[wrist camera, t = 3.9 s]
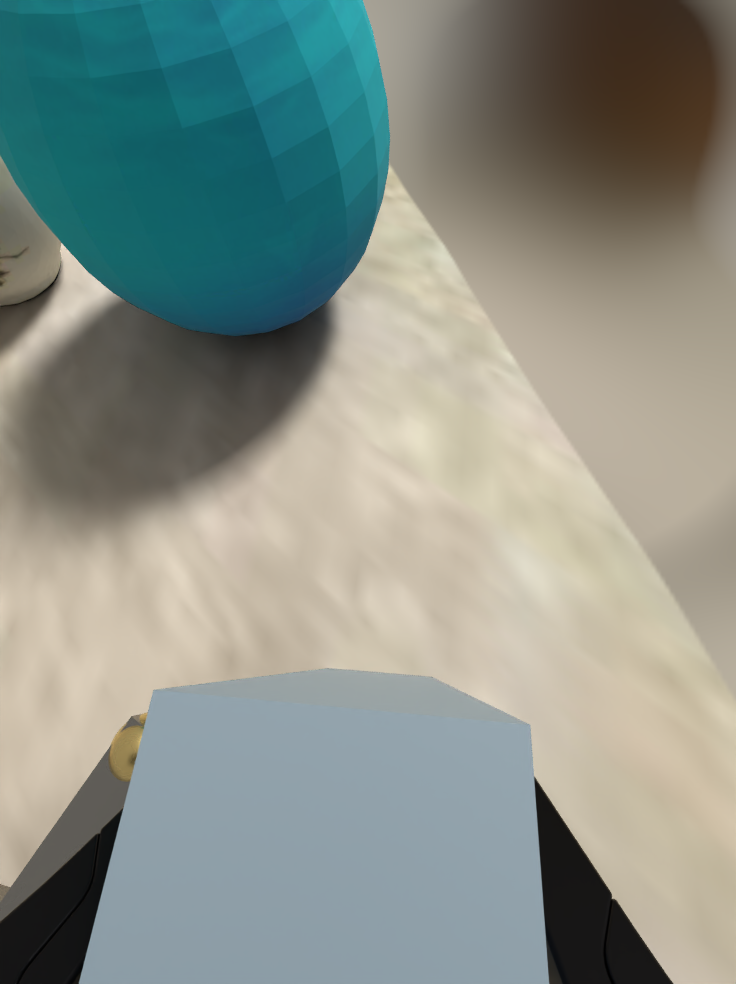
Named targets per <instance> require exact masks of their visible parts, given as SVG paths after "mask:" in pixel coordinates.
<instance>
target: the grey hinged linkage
mask: <svg viewBox="0 0 736 984" xmlns="http://www.w3.org/2000/svg"><path fill="white" fill-rule="evenodd" d="M147 714H148V713H144V714H140V715H136V716H131V718H130V719H129V721H128V722H127V723H126V724H125V725H124V726H123V727H121V729H120V730H119V731H118V732H117V734H116V735H115V737H114V739H113V740H112V743H111V745H110V747H109V749H108V750H107V752H106V753H105V755H104V756H103V757H102V759H101V760H100V762H99V763H98V764H97V766H96V767H95V769H94V770H93V772H92V773H91V774H90V776H89V777H88V779H87V780H86V781H85V783H84V784H83V786H82V787H81V789H80V790H79V791H78V793H77V794H76V796H75V797H74V799H73V800H72V801H71V803H70V804H69V806H68V807H67V808H66V810H65V811H64V813H63V814H62V816H61V817H60V818H59V820H58V821H57V823H56V824H55V825H54V827H53V828H52V830H51V831H50V833H49V834H48V835H47V837H46V838H45V840H44V841H43V842H42V844H41V845H40V847H39V848H38V850H37V851H36V852H35V854H34V855H33V857H32V858H31V859H30V861H29V862H28V864H27V865H26V867H25V868H24V869H23V871H22V872H21V874H20V875H19V876H18V878H17V879H16V881H15V882H14V884H13V885H12V886H11V888H10V887H7V886H4V885H1V884H0V921H1V920H2V919H3V918H5V917H6V916H7V915H8V914H9V913H10V912H11V911H13V910H14V909H15V908H16V907H17V906H18V905H19V904H21V903H22V902H23V901H24V900H25V899H26V898H27V897H28V896H30V895H31V894H32V893H33V892H34V891H35V890H36V889H38V888H39V887H40V886H41V885H42V884H43V883H44V882H45V881H46V880H48V879H49V878H50V877H51V876H52V875H53V874H54V873H55V872H56V871H57V870H58V869H59V868H60V867H61V866H62V865H64V864H65V863H66V862H67V861H68V860H69V859H70V858H71V857H72V856H73V855H74V854H75V853H76V852H77V851H78V850H79V849H81V848H82V847H83V846H84V845H85V844H86V843H87V842H88V841H89V840H90V839H91V838H92V837H93V836H94V835H95V834H96V833H99V834H100V830H101V828H102V827H103V826H104V825H106V824H107V823H108V822H109V821H110V820H111V819H112V818H113V817H114V816H115V815H116V814H117V813H118V812H119V811H120V810H121V809H122V808H123V807H124V804H125V800H126V796H127V792H128V789H129V785H130V781H131V777H132V773H133V769H134V765H135V761H136V757H137V753H138V749H139V745H140V741H141V738H142V734H143V730H144V726H145V722H146V718H147Z"/></svg>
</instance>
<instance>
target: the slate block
mask: <svg viewBox="0 0 736 984" xmlns="http://www.w3.org/2000/svg"><path fill="white" fill-rule="evenodd" d="M79 984H549V975H548V962H547V948H546V934H545V921H544V907H543V893H542V880H541V866H540V852H539V839H538V825H537V811H536V798H535V784H534V770H533V757H532V743H531V729H530V725H529V724H527V723H525V722H523V721H521V720H519V719H517V718H515V717H513V716H511V715H509V714H507V713H505V712H503V711H501V710H499V709H496V708H494V707H492V706H490V705H488V704H486V703H484V702H482V701H480V700H478V699H476V698H474V697H472V696H470V695H468V694H466V693H464V692H462V691H460V690H457V689H455V688H453V687H451V686H449V685H447V684H445V683H443V682H441V681H439V680H437V679H435V678H433V677H425V676H413V675H401V674H389V673H377V672H366V671H354V670H342V669H330V668H327V669H319V670H311V671H303V672H294V673H286V674H278V675H270V676H262V677H254V678H246V679H238V680H230V681H222V682H214V683H206V684H198V685H190V686H181V687H173V688H165V689H157V690H153V694H152V698H151V702H150V706H149V710H148V714H147V718H146V722H145V726H144V730H143V734H142V738H141V741H140V745H139V749H138V753H137V757H136V761H135V765H134V769H133V773H132V777H131V781H130V785H129V789H128V792H127V796H126V800H125V804H124V808H123V812H122V816H121V820H120V824H119V828H118V832H117V836H116V840H115V843H114V847H113V851H112V855H111V859H110V863H109V867H108V871H107V875H106V879H105V883H104V887H103V891H102V895H101V898H100V902H99V906H98V910H97V914H96V918H95V922H94V926H93V930H92V934H91V938H90V942H89V946H88V949H87V953H86V957H85V961H84V965H83V969H82V973H81V977H80V981H79Z"/></svg>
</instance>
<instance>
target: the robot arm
mask: <svg viewBox="0 0 736 984" xmlns="http://www.w3.org/2000/svg"><path fill="white" fill-rule="evenodd" d="M534 784H535V798H536V811H537V825H538V839H539V852H540V866H541V880H542V893H543V907H544V921H545V934H546V948H547V962H548V975H549V984H673V982H672V981H671V980H670V978H669V977H668V976H667V974H666V973H665V971H664V970H663V969H662V967H661V966H660V964H659V963H658V961H657V960H656V958H655V957H654V955H653V954H652V953H651V951H650V950H649V948H648V947H647V945H646V944H645V942H644V941H643V939H642V938H641V937H640V935H639V934H638V932H637V931H636V929H635V928H634V926H633V925H632V923H631V922H630V920H629V919H628V917H627V916H626V914H625V913H624V911H623V910H622V908H621V906H620V905H619V903H618V902H617V901H616V900H615V899H612V894H611V892H610V890H609V889H608V887H607V886H606V884H605V883H604V881H603V880H602V878H601V877H600V875H599V874H598V872H597V870H596V869H595V867H594V866H593V864H592V863H591V861H590V860H589V858H588V857H587V855H586V854H585V852H584V851H583V849H582V848H581V846H580V845H579V843H578V842H577V840H576V839H575V837H574V836H573V834H572V833H571V831H570V830H569V828H568V827H567V825H566V824H565V822H564V821H563V819H562V818H561V816H560V815H559V813H558V811H557V810H556V808H555V807H554V805H553V804H552V802H551V801H550V799H549V798H548V796H547V795H546V793H545V792H544V790H543V789H542V787H541V786H540V784H539V783H538V781H537V780H536V778H535V777H534ZM123 808H124V807H123ZM123 808H122V809H121V810H120V811H119V812H118V813H117V814H116V815H115V816H114V817H113V818H112V819H111V820H110V821H109V822H108V823H107V824H106V825H104V826H103V827H102V828H101V830H100V834H99V833H96V834H95V835H94V836H93V837H92V838H91V839H90V840H89V841H88V842H87V843H86V844H85V845H84V846H83V847H82V848H81V849H79V850H78V851H77V852H76V853H75V854H74V855H73V856H72V857H71V858H70V859H69V860H68V861H67V862H66V863H65V864H64V865H62V866H61V867H60V868H59V869H58V870H57V871H56V872H55V873H54V874H53V875H52V876H51V877H50V878H49V879H48V880H46V881H45V882H44V883H43V884H42V885H41V886H40V887H39V888H38V889H36V890H35V891H34V892H33V893H32V894H31V895H30V896H28V897H27V898H26V899H25V900H24V901H23V902H22V903H21V904H19V905H18V906H17V907H16V908H15V909H14V910H13V911H11V912H10V913H9V914H8V915H7V916H6V917H5V918H3V919H2V920H1V921H0V984H79V981H80V977H81V973H82V969H83V965H84V961H85V957H86V953H87V949H88V946H89V942H90V938H91V934H92V930H93V926H94V922H95V918H96V914H97V910H98V906H99V902H100V898H101V895H102V891H103V887H104V883H105V879H106V875H107V871H108V867H109V863H110V859H111V855H112V851H113V847H114V843H115V840H116V836H117V832H118V828H119V824H120V820H121V816H122V812H123Z"/></svg>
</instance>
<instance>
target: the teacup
mask: <svg viewBox="0 0 736 984" xmlns="http://www.w3.org/2000/svg"><path fill="white" fill-rule="evenodd" d="M60 248H61V241H60V240H59V239H58V238H57V237H56V236H55V235H54V233H53V232H52V231H51V230H50V229H49V228H48V226H47V225H46V224H45V223H44V222H43V221H42V220H41V218H40V217H39V216H38V214H37V213H36V212H35V210H34V209H33V207H32V206H31V205H30V203H29V202H28V200H27V199H26V197H25V196H24V195H23V193H22V192H21V190H20V189H19V188H18V186H17V185H16V183H15V182H14V180H13V178H12V176H11V174H10V172H9V170H8V169H7V167H6V165H5V163H4V161H3V159H2V158H1V156H0V306H3V305H10V304H17V303H21V302H23V301H26V300H28V299H31V298H33V297H35V296H36V295H38V294H40V293H41V292H42V291H44V290H45V289H46V288H47V287H48V286H49V285H50V284H51V283H52V282H53V281H54V280H55V278H56V276H57V274H58V272H59V268H60V264H61V253H60Z"/></svg>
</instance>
